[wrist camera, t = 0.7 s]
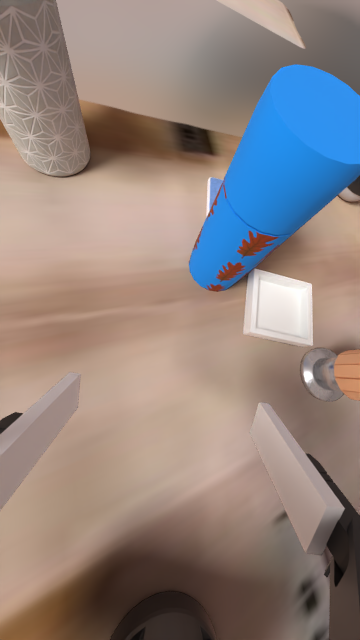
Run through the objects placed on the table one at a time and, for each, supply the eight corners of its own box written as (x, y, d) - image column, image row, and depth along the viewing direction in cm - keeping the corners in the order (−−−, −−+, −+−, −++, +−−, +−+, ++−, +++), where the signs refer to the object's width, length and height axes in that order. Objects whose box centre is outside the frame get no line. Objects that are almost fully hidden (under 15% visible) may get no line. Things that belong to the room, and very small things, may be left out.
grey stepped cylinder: (344, 404, 38) (437, 420, 26) (300, 396, 36) (377, 410, 24) (341, 353, 40) (424, 347, 29) (300, 344, 39) (369, 334, 27)
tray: (302, 347, 39) (312, 345, 36) (243, 334, 37) (250, 332, 34) (301, 288, 42) (311, 283, 40) (247, 274, 40) (254, 268, 38)
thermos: (194, 236, 40) (276, 43, 16) (241, 253, 41) (380, 99, 17) (182, 282, 37) (259, 128, 13) (233, 299, 38) (387, 187, 14)
